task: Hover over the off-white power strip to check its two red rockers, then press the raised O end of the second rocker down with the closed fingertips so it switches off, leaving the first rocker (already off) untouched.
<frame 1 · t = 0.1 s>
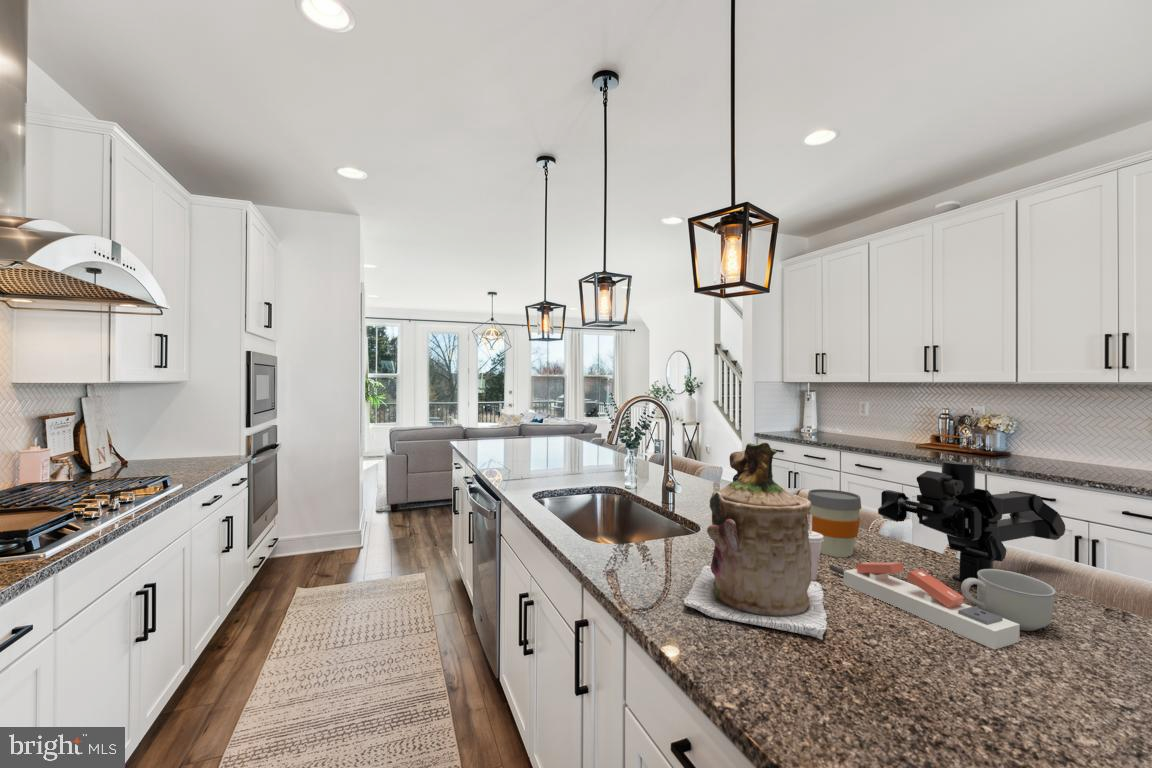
hand: (900, 516, 100), 17 cm above the countertop, tool horizontal, fingers open, 9 cm apart
cookie jar: (756, 602, 97), on the countertop
smoothie: (807, 577, 110), on the countertop
rocker 1: (879, 567, 103), point 5 cm above the countertop, hinge at 18.0°
rocker 2: (934, 587, 92), point 5 cm above the countertop, hinge at -18.0°
power strip: (920, 609, 95), on the countertop
reusable coffee cup: (832, 552, 128), on the countertop
teacup: (1003, 622, 90), on the countertop
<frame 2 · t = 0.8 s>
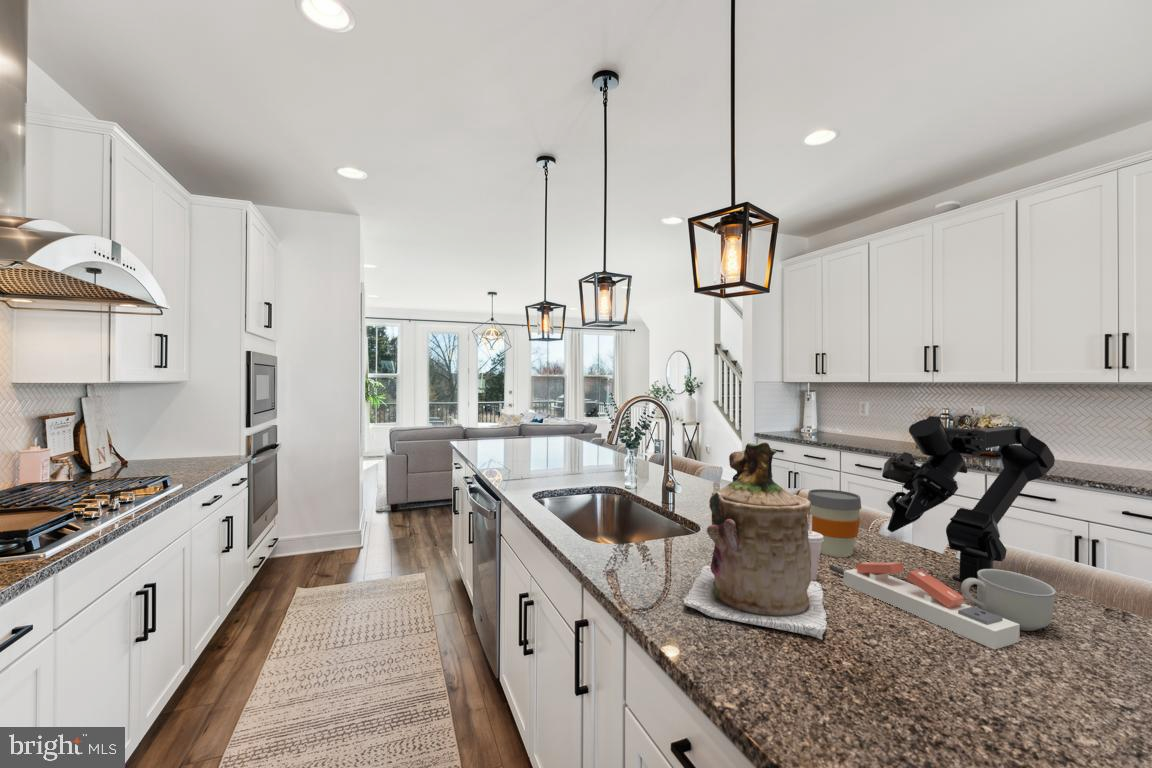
hand: (898, 524, 100), 15 cm above the countertop, tool tilted 50°, fingers open, 9 cm apart
nothing on the countertop moved.
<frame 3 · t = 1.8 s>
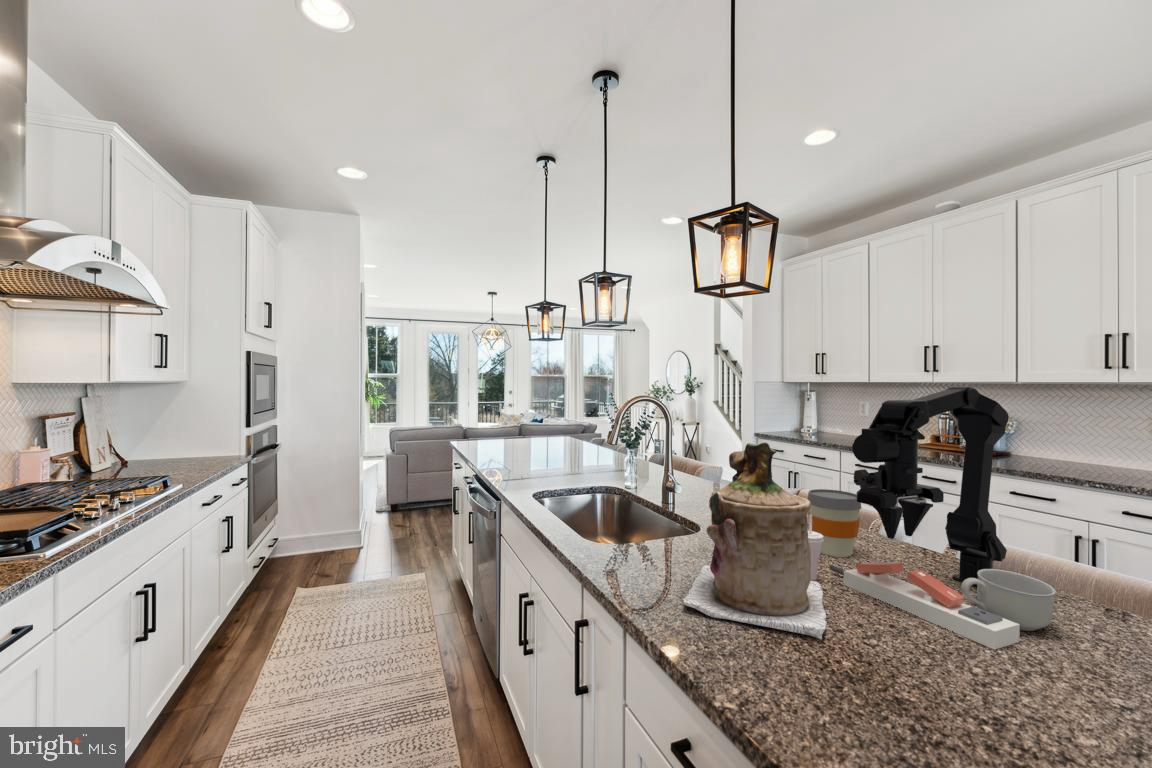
hand: (899, 537, 101), 12 cm above the countertop, tool pointing down, fingers open, 5 cm apart
nothing on the countertop moved.
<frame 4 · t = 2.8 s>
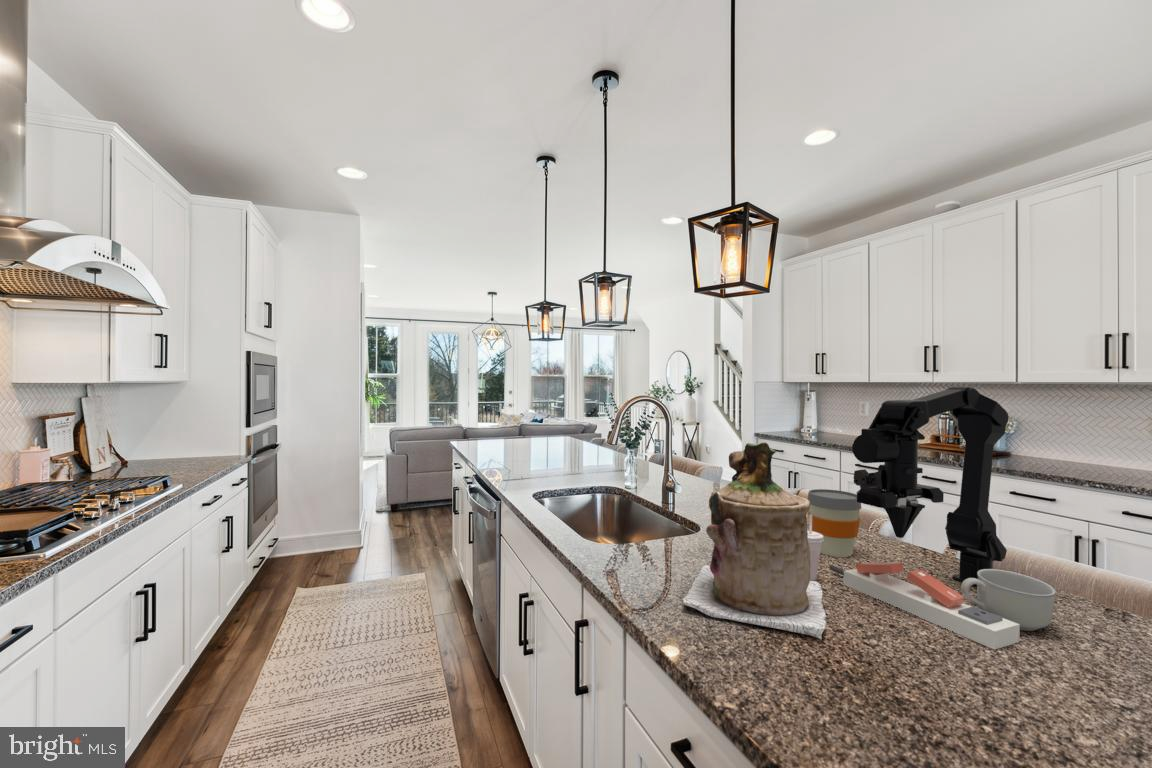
hand: (899, 537, 101), 12 cm above the countertop, tool pointing down, fingers closed
nothing on the countertop moved.
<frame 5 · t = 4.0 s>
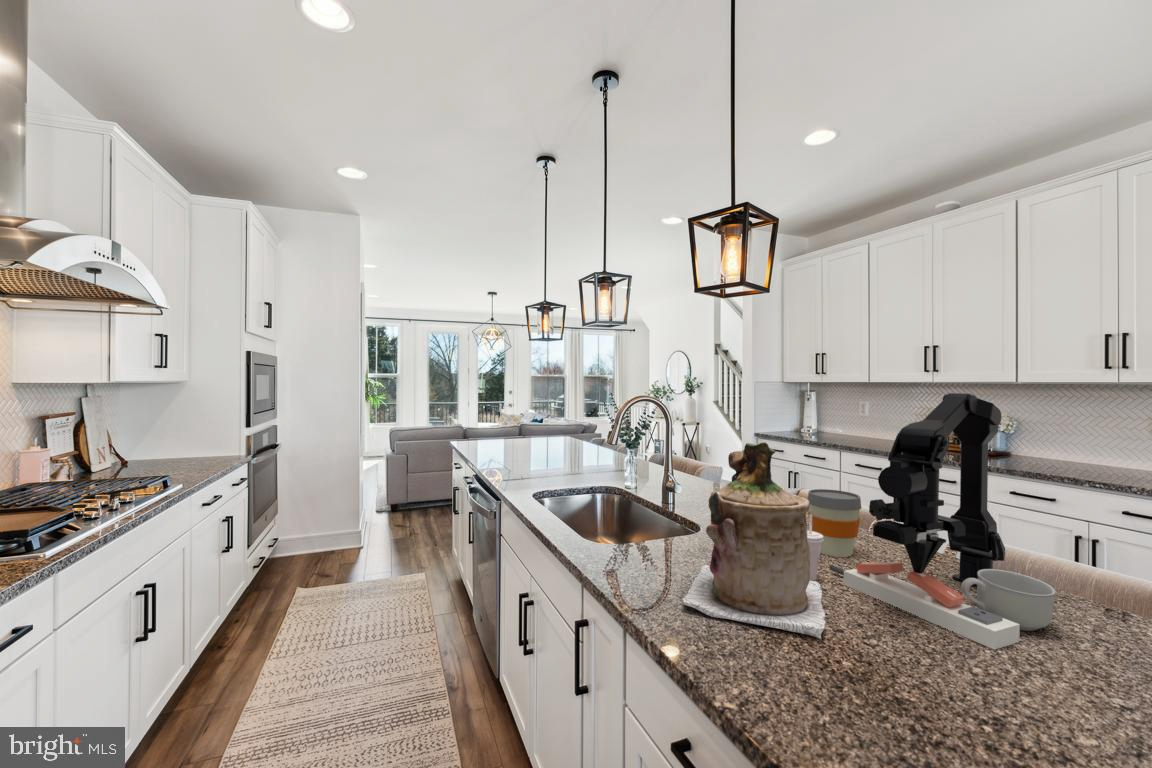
hand: (918, 572, 95), 7 cm above the countertop, tool pointing down, fingers closed, pressing on rocker 2
rocker 2: (934, 587, 92), point 5 cm above the countertop, hinge at -17.3°, touching gripper
everything else where it was.
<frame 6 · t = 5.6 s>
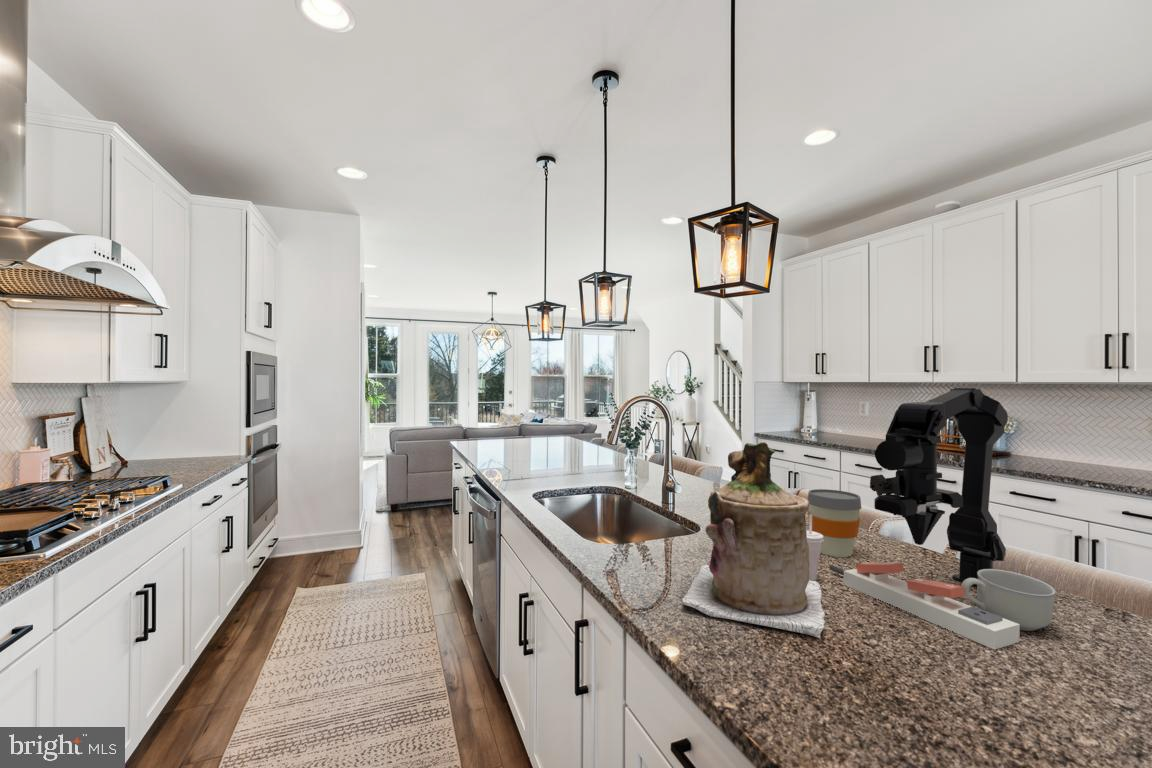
hand: (918, 544, 98), 12 cm above the countertop, tool pointing down, fingers closed
rocker 2: (934, 587, 92), point 5 cm above the countertop, hinge at 9.8°
everything else where it was.
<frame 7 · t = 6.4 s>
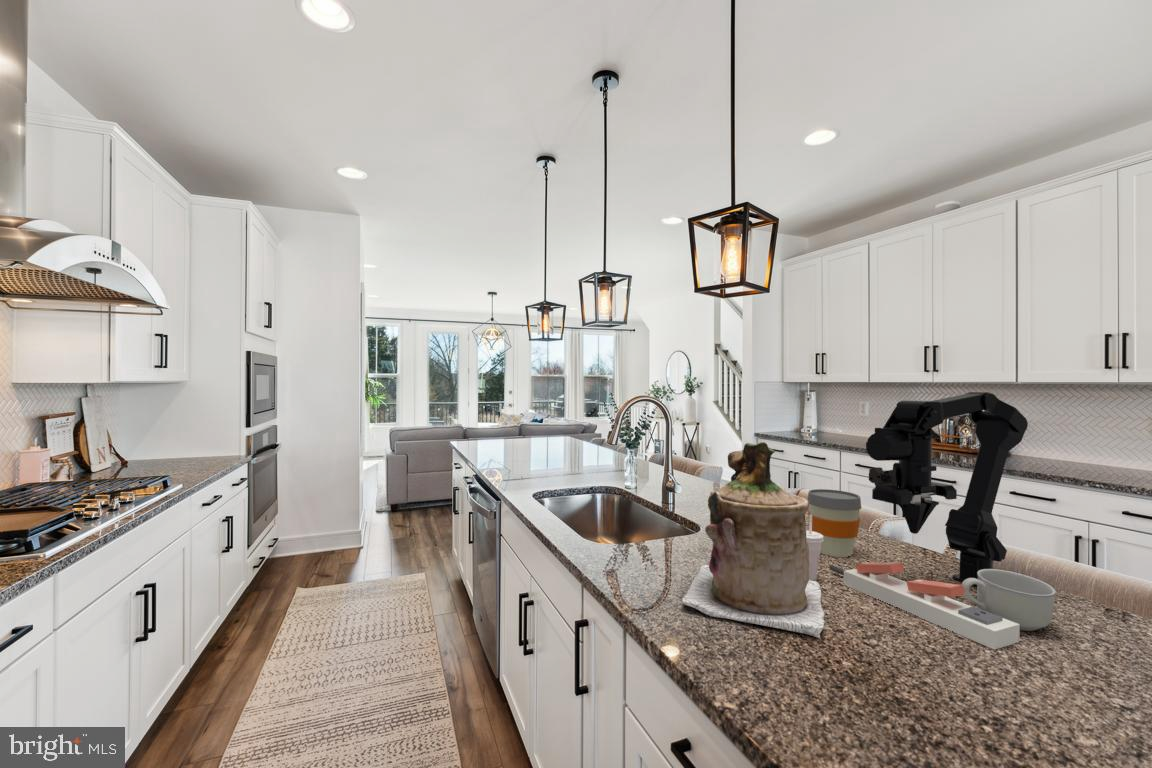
hand: (914, 533, 104), 12 cm above the countertop, tool pointing down, fingers closed
rocker 2: (934, 587, 92), point 5 cm above the countertop, hinge at 13.2°
everything else where it was.
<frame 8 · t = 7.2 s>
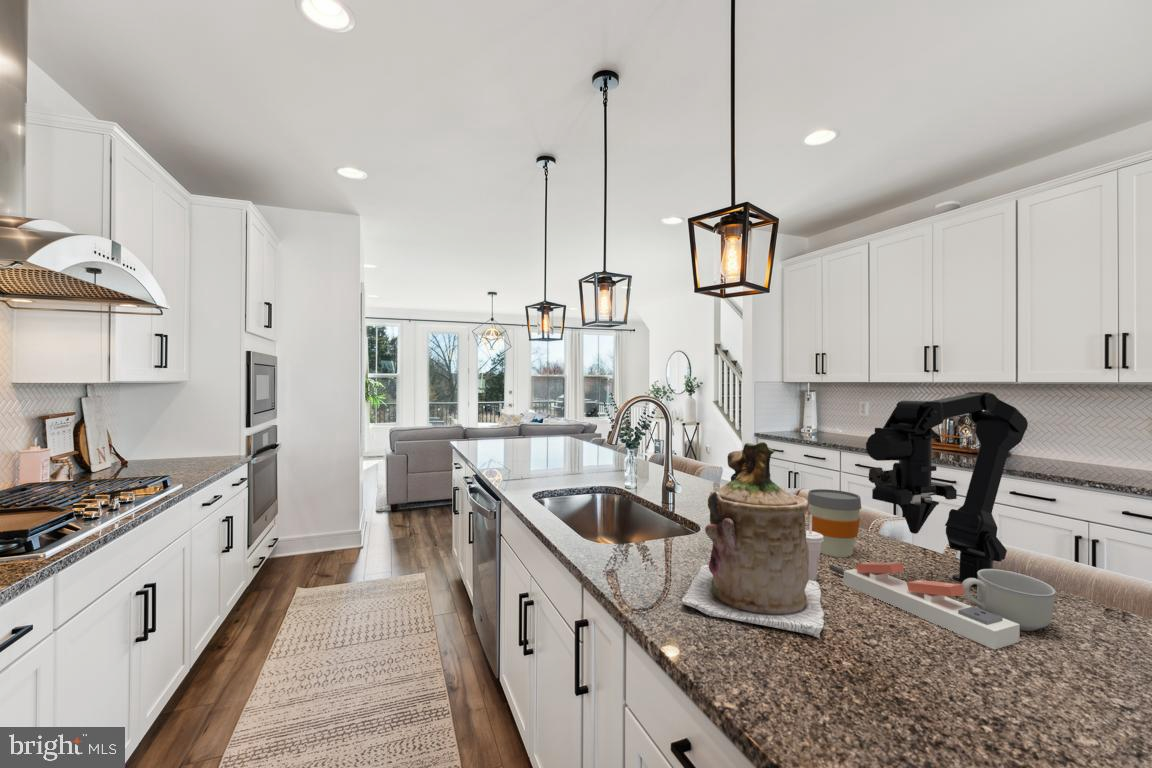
hand: (914, 533, 104), 12 cm above the countertop, tool pointing down, fingers closed
rocker 2: (934, 587, 92), point 5 cm above the countertop, hinge at 14.9°
everything else where it was.
at the end: rocker 2 at +15° (first picture: -18°); rocker 1 at +18° (first picture: +18°); rocker 2 touching nothing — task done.
